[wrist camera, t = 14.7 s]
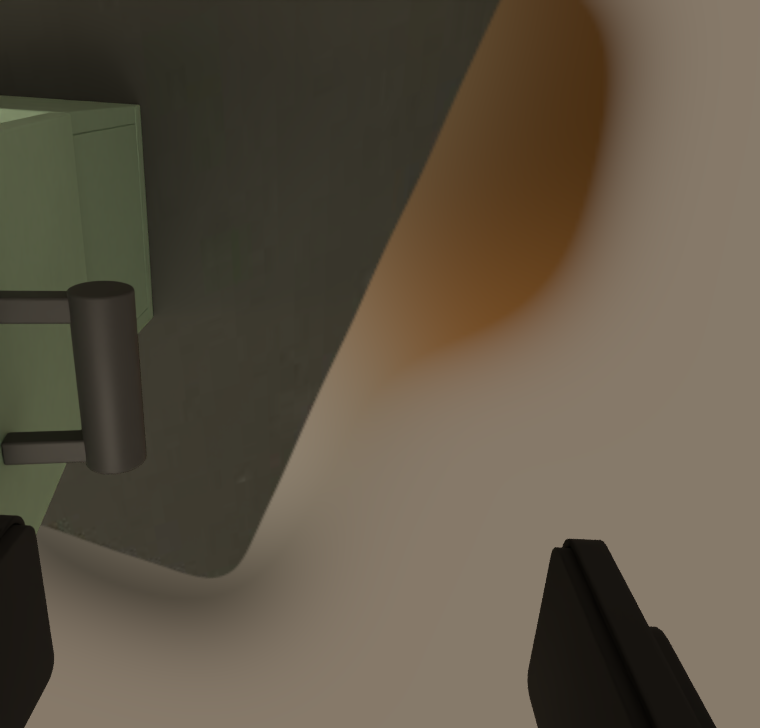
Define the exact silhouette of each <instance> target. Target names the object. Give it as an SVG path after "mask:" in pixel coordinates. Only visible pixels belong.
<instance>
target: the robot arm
mask: <svg viewBox="0 0 760 728" xmlns="http://www.w3.org/2000/svg"><path fill="white" fill-rule="evenodd" d="M53 664H54V652H53V645H52V639H51V632H50V625H49V619H48V612H47V605H46V599H45V592H44V586H43V579H42V572H41V565H40V558H39V552H38V545H37V538H36V533H35V529H34V528H33V526H30V525H25V522H24V520H23V519H22V517H20V516H18V515H0V728H24V727H25V725H26V723H27V721H28V719H29V717H30V716H31V714H32V712H33V710H34V708H35V706H36V704H37V702H38V700H39V699H40V697H41V695H42V693H43V691H44V689H45V687H46V685H47V683H48V681H49V679H50V677H51V673H52V670H53ZM528 690H529V696H530V700H531V704H532V707H533V711H534V715H535V718H536V723H537V726H538V728H716V726H715V724H714V723H713V721H712V719H711V717H710V715H709V713H708V712H707V710H706V708H705V706H704V704H703V702H702V701H701V699H700V697H699V695H698V693H697V691H696V690H695V688H694V686H693V684H692V682H691V681H690V679H689V677H688V675H687V673H686V671H685V670H684V668H683V666H682V664H681V662H680V661H679V659H678V657H677V655H676V653H675V651H674V650H673V648H672V646H671V644H670V642H669V640H668V639H667V638H666V636H665V634H664V633H663V632H662V631H661V630H660V629H658V628H657V627H649V626H648V624H647V622H646V620H645V618H644V616H643V614H642V613H641V610H640V609H639V607H638V605H637V603H636V601H635V599H634V597H633V595H632V593H631V592H630V590H629V588H628V586H627V584H626V582H625V580H624V578H623V576H622V574H621V572H620V570H619V569H618V567H617V565H616V563H615V561H614V559H613V557H612V555H611V553H610V552H609V550H608V548H607V546H606V544H605V543H604V542H603V541H601V540H585V539H567V540H565V542H564V544H563V547H562V548H558V547H557V548H556V547H555V548H554V549H553V550H552V553H551V558H550V563H549V568H548V573H547V578H546V583H545V588H544V593H543V598H542V603H541V608H540V613H539V619H538V624H537V629H536V634H535V639H534V644H533V649H532V654H531V659H530V664H529V670H528Z"/></svg>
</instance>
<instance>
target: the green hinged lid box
mask: <svg viewBox="0 0 760 728" xmlns="http://www.w3.org/2000/svg"><path fill="white" fill-rule="evenodd" d="M49 112H53V113H69V114H70V115H71V123H72V133H73V143H74V153H75V163H76V173H77V183H78V193H79V203H80V213H81V223H82V233H83V244H84V254H85V264H86V274H87V282H91V281H117V282H123V283H127V284H129V285H131V286H132V287H133V288H134V290H135V304H136V318H137V331H138V333H139V332H140V331H141V330H142V329H143V328H144V326H145V325H146V324H147V323H148V322H149V321H150V320H151V319H152V318H153V304H152V289H151V273H150V257H149V241H148V225H147V209H146V194H145V178H144V162H143V146H142V130H141V114H140V105H135V104H120V103H106V102H91V101H77V100H62V99H48V98H33V97H19V96H4V95H0V123H3V122H7V121H12V120H17V119H21V118H26V117H31V116H35V115H40V114H45V113H49Z"/></svg>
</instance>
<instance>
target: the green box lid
mask: <svg viewBox="0 0 760 728" xmlns="http://www.w3.org/2000/svg"><path fill="white" fill-rule="evenodd" d="M81 428H82V430H81ZM145 459H146V441H145V427H144V414H143V400H142V386H141V372H140V359H139V345H138V331H137V318H136V304H135V290H134V288H133V287H132V286H131V285H129V284H127V283H123V282H117V281H91V282H87V274H86V264H85V254H84V244H83V233H82V223H81V213H80V203H79V193H78V183H77V173H76V163H75V153H74V143H73V133H72V123H71V115H70V114H69V113H53V112H49V113H45V114H40V115H35V116H31V117H26V118H21V119H17V120H12V121H7V122H3V123H0V515H18V516H20V517H22V519H23V520H24V522H25V525H30V526H33V528H34V529H35V533H36V535H37V532H38V530H39V527H40V525H41V523H42V520H43V518H44V516H45V513H46V511H47V508H48V506H49V504H50V501H51V499H52V497H53V494H54V492H55V490H56V487H57V485H58V482H59V480H60V478H61V475H62V473H63V471H64V468H65V466H66V463H74V462H86V465H87V467H88V468H89V469H90V470H92V471H94V472H96V473H100V474H119V473H124V472H128V471H131V470H133V469H135V468H137V467H139V466H140V465H141V464H143V462H144V461H145Z"/></svg>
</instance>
